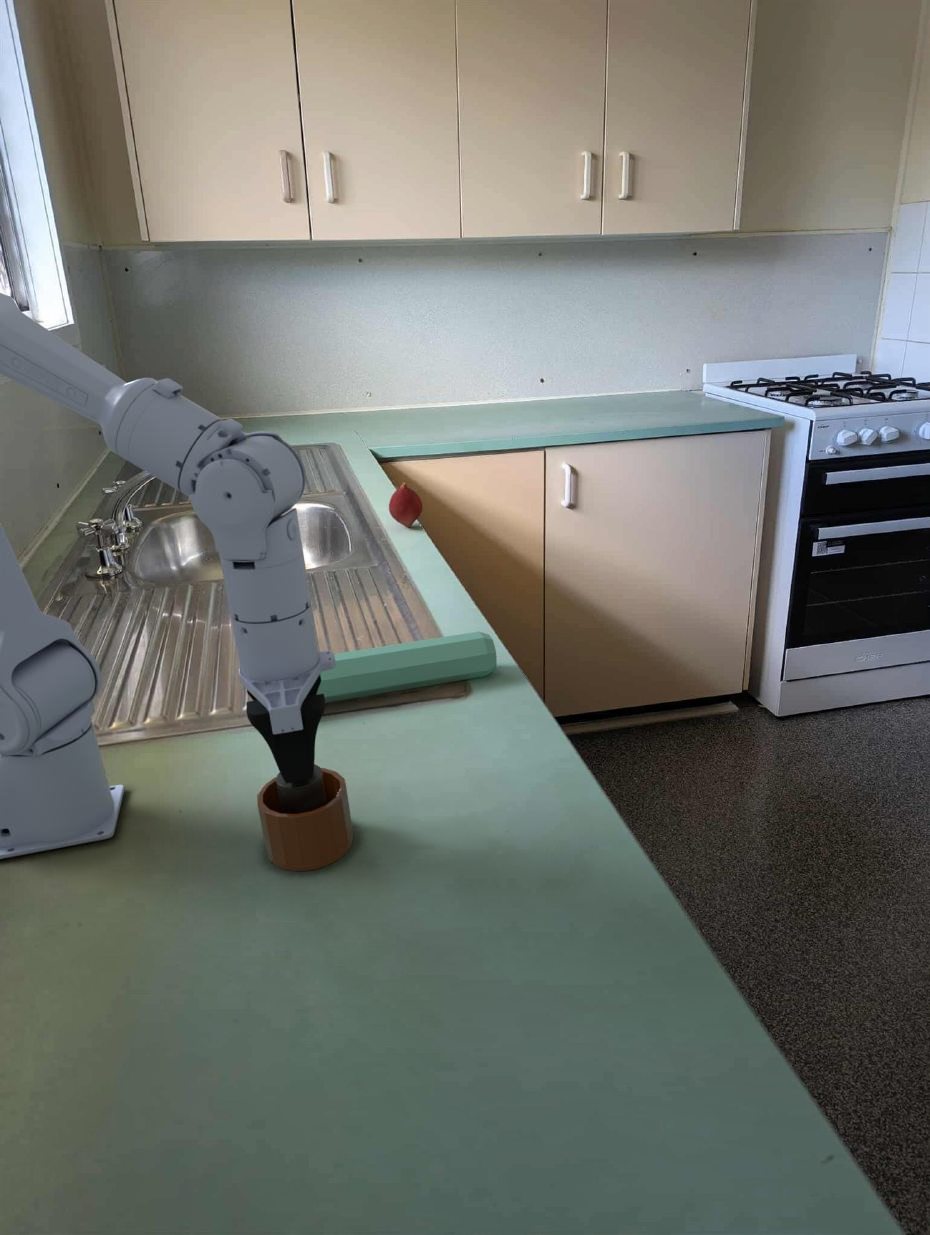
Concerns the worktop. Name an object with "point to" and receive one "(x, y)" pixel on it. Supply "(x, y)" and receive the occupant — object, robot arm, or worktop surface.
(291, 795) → the brush
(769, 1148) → the worktop surface
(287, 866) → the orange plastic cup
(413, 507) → the onion
